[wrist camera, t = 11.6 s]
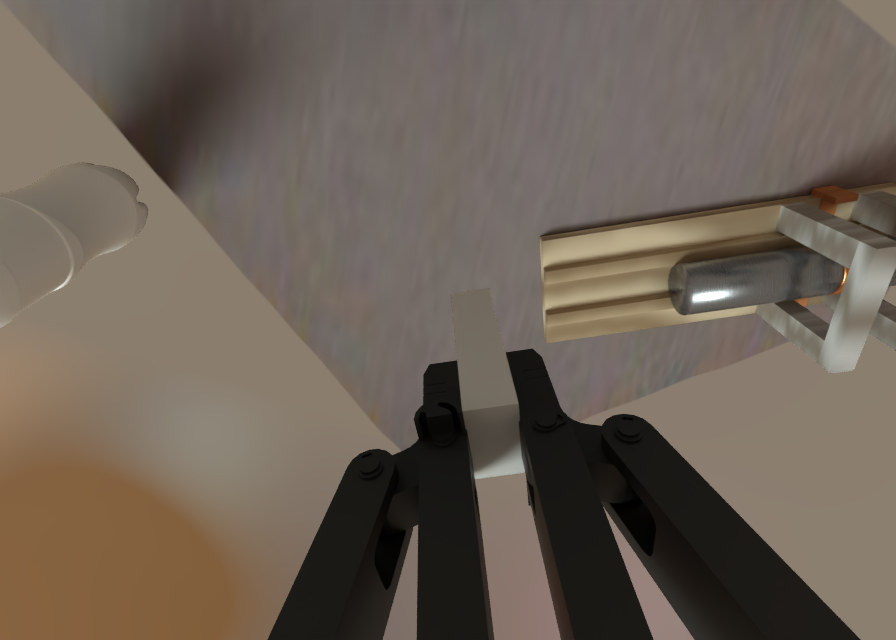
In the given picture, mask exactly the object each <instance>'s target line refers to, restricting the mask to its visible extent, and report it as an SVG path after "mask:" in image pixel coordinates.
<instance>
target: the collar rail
mask: <svg viewBox="0 0 896 640" xmlns="http://www.w3.org/2000/svg"><path fill="white" fill-rule="evenodd" d="M884 233H886V234H889V235H891V236H894V237H896V184H894V183H891V182H890V183H884V184H878V185H871V186H865V187H858V188H852V189H843V188H840V187H837V186H834V185H833V186H826V187H820V188H813V189H812V191H811V194H810V195H806V196H800V197H793V198H787V199H781V200H774V201H768V202H761V203H755V204H748V205H742V206H735V207H729V208H722V209H716V210H709V211H703V212H696V213H690V214H683V215H677V216H671V217H664V218H658V219H651V220H645V221H638V222H632V223H625V224H619V225H612V226H606V227H599V228H593V229H586V230H580V231H574V232H567V233H561V234H554V235H548V236H541V237H540V253H541V276H542V299H543V322H544V338H545V340H546V343H551V342H558V341H565V340H572V339H579V338H585V337H592V336H599V335H606V334H613V333H620V332H627V331H634V330H641V329H648V328H655V327H661V326H668V325H675V324H682V323H689V322H696V321H703V320H710V319H717V318H724V317H731V316H737V315H744V314H751V313H757V314H758V315H759V316H760V317H762V318H763V319H764V320H765V321H767V322H768V323H769V324H770V325H771V326H773V327H774V328H775V329H776V330H778V331H779V332H780V333H781V334H783V335H784V336H785V337H786V338H787V339H789V340H790V341H791V342H793V343H794V344H795V345H796V346H797V347H799V348H800V349H801V350H802V351H803V352H805V353H806V354H807V355H808V356H809V357H811V358H812V359H813V360H815V361H816V362H817V363H818V364H819V365H821V366H822V367H823V368H824V369H825V370H827V371H828V372H829V373H837V372H845V371H851V370H854V368H855V366H856V363H857V361H858V359H859V356H860V354H861V351H862V349H863V346H864V344H865V342H866V339H867V337H868V334H871V335H872V336H874V337H875V338H877V339H878V340H880V341H881V342H883V343H884V344H886V345H887V346H889V347H890V348H892V349H893V350H895V351H896V307H895V306H894V305H892V304H890V303H888V302H886V301H885V300H883V298H884V295H885V293H886V290H887V288H888V286H889V283H890V281H891V278H892V276H893V273H894V271H895V269H896V241H894V240H892V239H890V238H887V237H885V236H882V235H880V234H884ZM803 245H805V246H807V247H809V248H811V249H813V250H815V251H816V252H818V253H820V254H822V255H824V256H826V257H828V258H830V259H832V260H833V261H835V262H837V263H839V264H841V265H843V266H845V267H847V268H848V269H850V270H849V273H848V276H847V278H846V281H845V284H844V287H843V290H842V293H841V294H835V295H828V296H817V297H810V298H803V299H796V300H789V301H782V302H775V303H768V304H761V305H754V306H747V307H740V308H733V309H726V310H719V311H712V312H705V313H698V314H691V315H680V314H679V313H678V312H677V311H676V310H675V308H674V307H673V305H672V302H671V300H670V296H669V290H668V278H669V273H670V270H671V268H672V267H673V266H674V265H675V264H681V263H687V262H694V261H701V260H708V259H715V258H721V257H728V256H735V255H742V254H749V253H755V252H762V251H769V250H776V249H782V248H789V247H796V246H803ZM820 303H823V304H825V305H826V306H828V307H829V308H831V309H832V310H834V311H835V312H834V315H833V318H832V321H831V324H830V325H829V324H828V323H826V322H825V321H823V320H822V319H820V318H819V317H818V316H816V315H815V314H813V313H812V312H810V311H809V310H808V309H806V308H805V307H803V306H807V305H813V304H820Z"/></svg>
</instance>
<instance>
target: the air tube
mask: <svg viewBox="0 0 896 640" xmlns="http://www.w3.org/2000/svg"><path fill="white" fill-rule="evenodd" d="M880 235H882V236H885V237H887V238H890V239H892V240H894V241H896V237H894V236H891V235H889V234H886V233H884V234H880ZM849 270H850V269H848V268H847V267H845V266H843V265H841V264H839V263H837V262H835V261H833V260H832V259H830V258H828V257H826V256H824V255H822V254H820V253H818V252H816V251H815V250H813V249H811V248H809V247H807V246H805V245H803V246H796V247H789V248H782V249H776V250H769V251H762V252H755V253H749V254H742V255H735V256H728V257H721V258H715V259H708V260H701V261H694V262H687V263H681V264H675V265H674V266H673V267H672V268H671V270H670V273H669V278H668V290H669V296H670V300H671V302H672V305H673V307H674V308H675V310H676V311H677V312H678V313H679V314H680V315H691V314H698V313H705V312H712V311H719V310H726V309H733V308H740V307H747V306H754V305H761V304H768V303H775V302H782V301H789V300H796V299H803V298H810V297H817V296H828V295H835V294H841V293H842V290H843V287H844V284H845V281H846V278H847V276H848V273H849ZM895 285H896V269H895V271H894V273H893V276H892V278H891V281H890V283H889V286H895Z"/></svg>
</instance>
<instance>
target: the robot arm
mask: <svg viewBox="0 0 896 640" xmlns="http://www.w3.org/2000/svg"><path fill="white" fill-rule="evenodd" d="M451 303H452V313H453V323H454V333H455V343H456V353H457V361H450V362H443V363H436V364H430V365H429V366H428V368H427V370H426V372H425V373H424V383H423V386H424V388H423V395H424V396H423V405H422V406H421V407H420V408H419V409H418V411H417V412H416V414H415V417H414V422H415V426H416V430H417V433H418V437H419V439H418V440H417V442H416V443H415V444H413V445H412V446H411V447H410V448H408V449H406V450H404V451H402V452H399V453H397V454H394V455H391V454H390V453H389V452H387V451H385V450H380V449H373V450H368V451H365V452H363V453H361V454H359V455H358V456H357V457H355V458H354V459H353V460H352V461H351V463H350V464H349V465H348V467H347V469H346V471H345V473H344V476H343V478H342V480H341V482H340V484H339V486H338V489H337V491H336V493H335V495H334V497H333V500H332V502H331V504H330V506H329V508H328V511H327V512H326V515H325V517H324V519H323V521H322V524H321V525H320V527H319V530H318V532H317V534H316V536H315V538H314V540H313V543H312V545H311V547H310V549H309V551H308V553H307V556H306V558H305V560H304V562H303V564H302V566H301V569H300V571H299V573H298V575H297V577H296V579H295V581H294V584H293V586H292V588H291V590H290V592H289V594H288V597H287V599H286V601H285V603H284V606H283V607H282V610H281V612H280V614H279V616H278V618H277V620H276V623H275V625H274V627H273V629H272V631H271V633H270V636H269V638H268V640H383V636H384V632H385V629H386V625H387V621H388V618H389V614H390V610H391V607H392V603H393V599H394V596H395V593H396V589H397V585H398V581H399V578H400V575H401V571H402V567H403V564H404V560H405V556H406V553H407V549H408V546H409V542H410V538H411V535H412V531H413V527H414V526H416V525H418V590H417V592H418V593H417V640H494V633H493V625H492V617H491V608H490V599H489V591H488V582H487V574H486V565H485V557H484V548H483V539H482V531H481V523H480V514H479V505H478V497H477V491H476V485H475V479H478V478H486V477H494V476H502V475H509V474H517V473H524V472H525V473H526V479H527V491H528V503H529V505H531V507H532V512H533V516H534V521H535V525H536V530H537V534H538V538H539V543H540V547H541V552H542V556H543V561H544V565H545V570H546V574H547V579H548V583H549V588H550V592H551V597H552V601H553V606H554V610H555V615H556V619H557V623H558V628H559V632H560V637H561V640H653V637H652V635H651V632H650V629H649V627H648V624H647V621H646V619H645V616H644V614H643V611H642V608H641V606H640V603H639V600H638V598H637V595H636V592H635V590H634V587H633V585H632V582H631V580H630V577H629V574H628V571H627V569H626V566H625V563H624V561H623V558H622V556H621V553H620V550H619V548H618V545H617V542H616V540H615V537H614V534H613V532H612V529H611V526H610V524H609V521H608V519H607V516H606V513H605V511H604V508H605V510H606V511H607V512H608V514H609V515H610V517H611V518H612V520H613V521H614V523H615V524H616V526H617V527H618V529H619V530H620V531H621V533H622V534H623V536H624V537H625V539H626V540H627V542H628V543H629V545H630V546H631V547H632V549H633V550H634V552H635V553H636V554H637V556H638V558H639V559H640V560H641V562H642V563H643V565H644V566H645V568H646V569H647V571H648V572H649V574H650V575H651V577H652V578H653V579H654V581H655V582H656V584H657V585H658V587H659V588H660V590H661V591H662V593H663V594H664V596H665V597H666V598H667V600H668V601H669V603H670V604H671V606H672V607H673V609H674V610H675V612H676V613H677V615H678V616H679V618H680V619H681V620H682V622H683V623H684V625H685V626H686V628H687V629H688V631H689V632H690V634H691V635H692V636H693V638H694V639H695V640H860V639H859V638H858V637H857V636H856V635H855V633H854V632H852V630H851V629H850V628H849V627H848V626H847V625H846V624H845V623H844V622H843V621H842V620H841V619H840V618H839V617H838V616H837V615H836V614H835V613H834V612H833V611H832V610H831V609H830V608H829V607H828V606H827V605H826V604H825V603H824V602H823V601H822V600H821V599H820V598H819V597H818V596H817V594H816V593H815V592H814V591H813V590H811V588H810V587H809V586H808V585H807V584H806V583H805V582H804V581H803V580H802V579H801V578H800V577H799V576H798V575H797V574H796V573H795V572H794V571H793V570H792V569H791V568H790V567H789V566H788V565H787V564H786V563H785V562H784V561H783V560H782V559H781V558H780V557H779V555H778V554H777V553H775V551H773V549H772V548H771V547H770V546H769V545H768V544H767V543H766V542H765V541H764V540H763V539H762V538H761V537H760V536H759V535H758V534H757V533H756V532H755V531H754V530H753V529H752V528H751V527H750V526H749V525H748V524H747V523H746V522H745V521H744V520H743V519H742V517H740V516H739V514H738V513H737V512H736V511H735V510H734V509H733V508H732V507H731V506H730V505H729V504H728V503H727V502H726V501H725V500H724V499H723V498H722V497H721V496H720V495H719V494H718V493H717V492H716V491H715V490H714V489H713V488H712V487H711V486H710V485H709V484H708V483H707V482H706V481H705V480H704V479H703V477H702V476H701V475H700V474H699V473H698V472H697V471H696V470H695V469H694V468H693V467H692V466H691V465H690V464H689V463H688V462H687V461H686V460H685V459H684V458H683V457H682V456H681V455H680V454H679V453H678V452H677V451H676V450H675V449H674V448H673V447H672V446H671V445H670V444H669V443H668V442H667V440H666V439H665V438H663V436H662V435H661V434H660V433H659V432H658V431H657V430H656V429H655V428H654V427H653V426H652V425H651V424H649V423H648V422H647V421H646V420H644V419H643V418H640V417H637V416H635V415H628V414H620V415H614V416H612V417H610V418H608V419H606V421H605V422H604V423H603V425H602V426H598V425H589V424H584V423H580V422H577V421H574V420H572V419H571V418H569V417H568V416H567V415H566V413H564V412H563V411H562V409H561V407H560V405H559V402H558V399H557V397H556V394H555V391H554V389H553V386H552V383H551V380H550V378H549V375H548V372H547V370H546V367H545V364H544V361H543V359H542V357H541V356H540V355H539V354H538V353H537V352H536V351H534V350H533V349H527V350H520V351H513V352H506V353H505V349H504V345H503V341H502V337H501V333H500V329H499V325H498V322H497V318H496V314H495V310H494V306H493V302H492V298H491V294H490V290H489V288H487V289H481V290H474V291H467V292H461V293H454V294H451ZM524 469H525V471H524ZM603 507H604V508H603Z"/></svg>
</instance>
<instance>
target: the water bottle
mask: <svg viewBox="0 0 896 640" xmlns="http://www.w3.org/2000/svg"><path fill="white" fill-rule="evenodd" d="M138 191H139V188H138V186H137V185H136V183H135V181H134V180H133V179H132V178H131V177H129V176H128V175H127V174H125V173H124V172H122V171H120V170H117V169H114V168H110V167H106V166H96V165H94V164H89V163H75V164H70V165H67V166H63V167H60V168H57V169H54V170H51V171H50V172H48V173H47V174H45V175H44V176H43V177H42V178H41V179H39V180H38V181H37V182H35V183H33V184H32V185H30V186H27V187H25V188H22V189H18V190H15V191H10V192H6V193H0V328H1V327H2V326H4V325H6V324H8V323H9V322H10V321H12V320H13V319H14V318H15V316H16V315H17V314H19V313H20V312H22V311H23V310H25V309H26V308H28V307H29V306H31V305H32V304H34V303H35V302H37V301H38V300H40V299H41V298H43V297H44V296H46V295H47V294H49V293H50V292H52V291H55V290H58V289H60V288H62V287H63V286H65V285H66V284H68V283H69V282H70V281H71V280H73V279H74V278H75V276H76V275H77V274H78V273H79V271H80V270H81V269H82V267H83V266H84V265H85V264H86V263H87V262H88V261H90V260H91V259H93V258H95V257H97V256H99V255H102V254H105V253H108V252H112V251H116V250H118V249H120V248H122V247H123V246H125V245H126V244H128V243H129V242H131V241H132V240H133V239H134V238H135V237H137V236H138V234H139V233H140V232H141V230H142V229H143V227H144V225H145V222H146V219H147V215H148V208H147V206H146V205H145V204H144V203H141V202H137V200H136V196H137V194H138Z"/></svg>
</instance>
